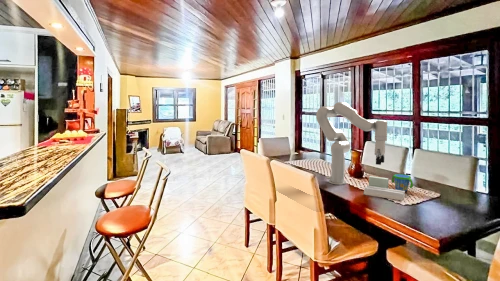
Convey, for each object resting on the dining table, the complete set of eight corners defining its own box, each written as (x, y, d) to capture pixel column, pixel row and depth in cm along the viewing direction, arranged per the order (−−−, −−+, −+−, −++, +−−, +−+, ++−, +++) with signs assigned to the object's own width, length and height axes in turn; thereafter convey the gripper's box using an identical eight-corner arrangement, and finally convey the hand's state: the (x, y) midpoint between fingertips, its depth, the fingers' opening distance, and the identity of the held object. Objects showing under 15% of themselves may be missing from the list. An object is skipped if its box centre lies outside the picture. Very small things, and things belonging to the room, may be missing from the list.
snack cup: (416, 192, 201) (417, 177, 200) (404, 193, 198) (405, 178, 197) (399, 186, 216) (399, 172, 215) (387, 187, 213) (387, 173, 212)
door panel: (368, 189, 209) (369, 176, 208) (369, 188, 211) (370, 176, 210) (387, 192, 202) (387, 179, 201) (387, 191, 204) (388, 178, 204)
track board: (363, 194, 197) (363, 188, 197) (367, 190, 205) (367, 185, 205) (402, 200, 184) (402, 194, 183) (404, 196, 192) (405, 190, 191)
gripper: (377, 137, 212) (377, 161, 214) (371, 139, 198) (371, 164, 200) (389, 137, 208) (388, 162, 209) (383, 139, 194) (383, 165, 195)
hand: (380, 163), depth 204 cm, fingers open, 9 cm apart
